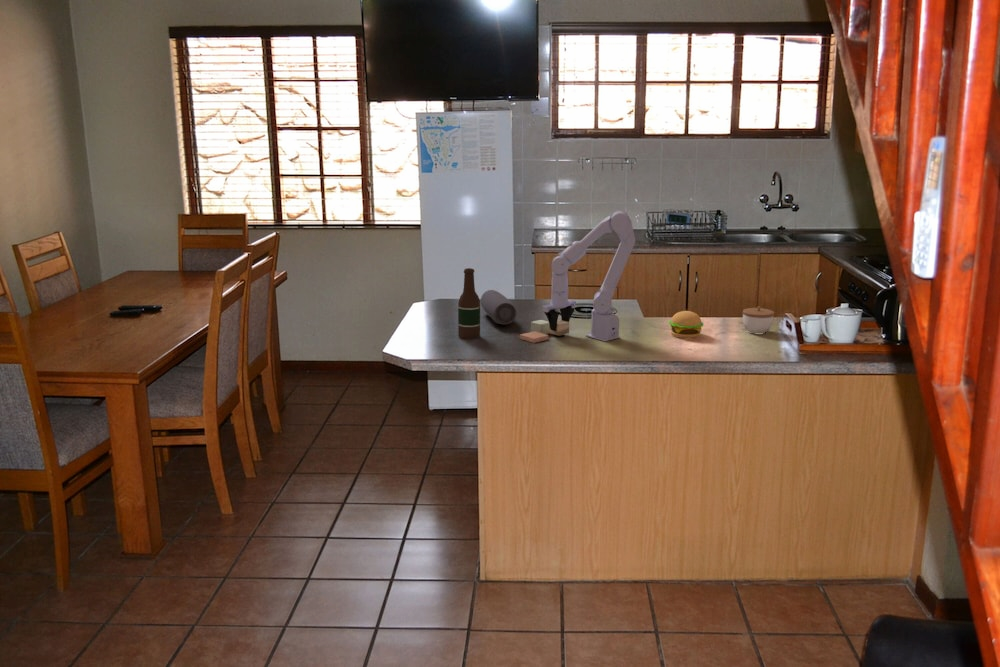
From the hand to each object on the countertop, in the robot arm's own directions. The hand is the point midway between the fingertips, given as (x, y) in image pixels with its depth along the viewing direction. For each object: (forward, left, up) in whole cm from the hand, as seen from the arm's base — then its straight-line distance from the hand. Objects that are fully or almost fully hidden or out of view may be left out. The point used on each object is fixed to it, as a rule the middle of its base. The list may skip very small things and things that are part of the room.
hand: (559, 328), depth 313 cm
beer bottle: (+19, +25, -3) cm, 32 cm away
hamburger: (-29, -34, -3) cm, 45 cm away
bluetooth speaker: (+30, +2, -3) cm, 30 cm away
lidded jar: (-43, -57, -3) cm, 71 cm away
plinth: (+2, +10, -2) cm, 11 cm away
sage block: (+7, +2, -3) cm, 8 cm away
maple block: (0, 0, -2) cm, 2 cm away
